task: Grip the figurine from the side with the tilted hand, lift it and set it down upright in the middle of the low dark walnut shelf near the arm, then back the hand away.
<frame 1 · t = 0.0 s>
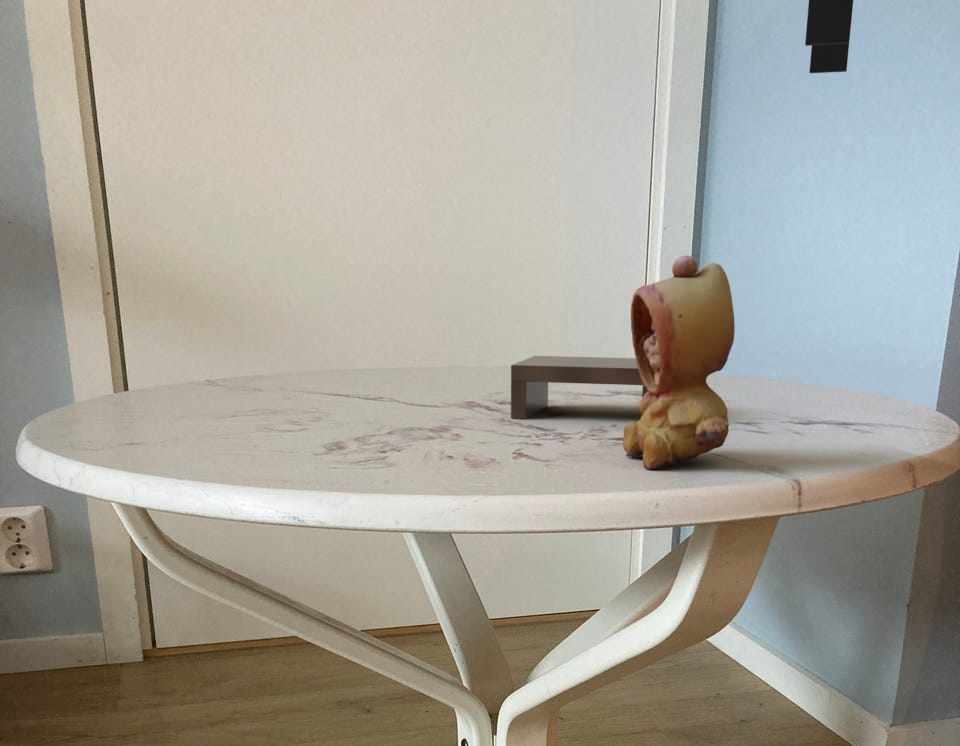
hand: (827, 59, 78), 28 cm above the table, tool pointing down, fingers open, 13 cm apart
shelf: (591, 414, 108), on the table
figurine: (676, 463, 85), on the table
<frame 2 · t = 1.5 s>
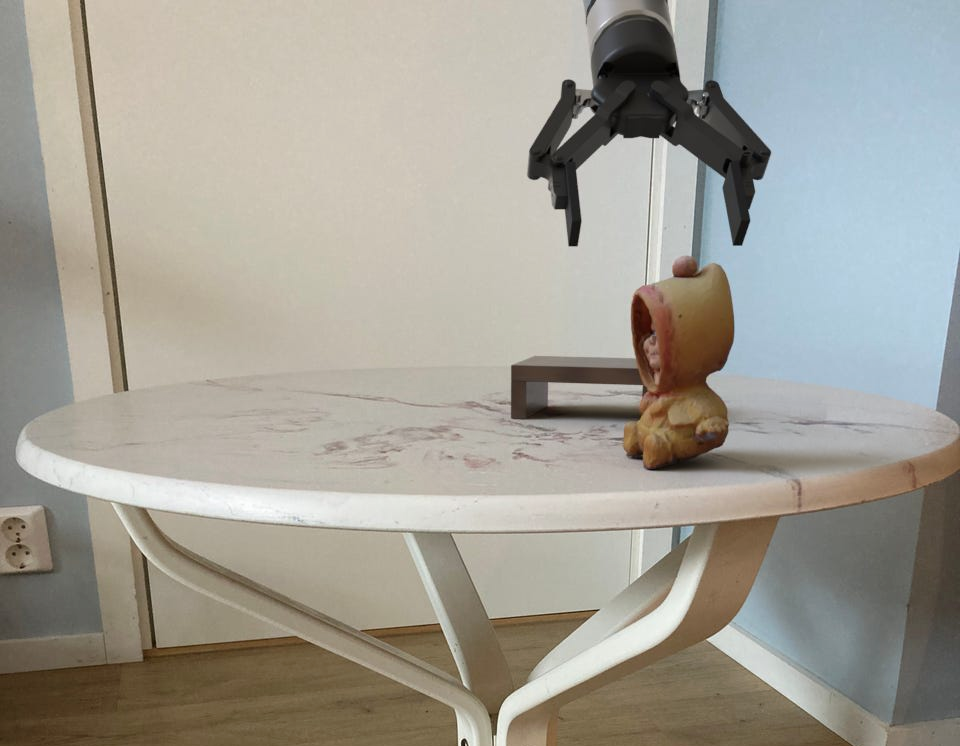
hand: (658, 234, 89), 16 cm above the table, tool tilted 45°, fingers open, 13 cm apart
nothing on the table moved.
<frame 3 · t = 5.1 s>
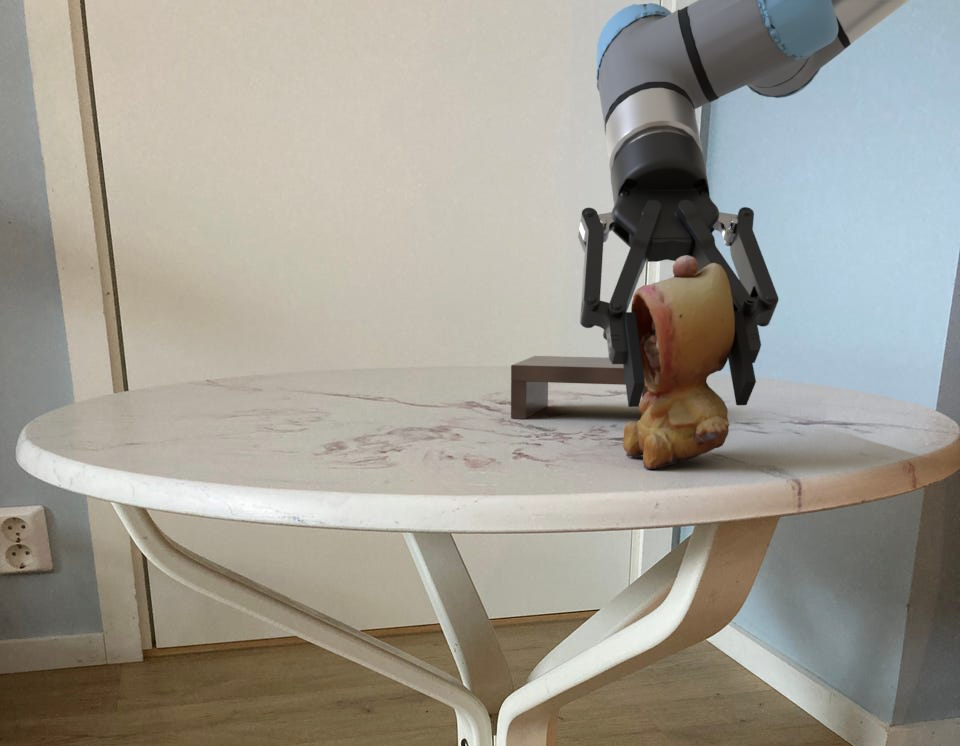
hand: (691, 394, 80), 6 cm above the table, tool tilted 45°, fingers closed on figurine, 7 cm apart
figurine: (676, 463, 85), on the table, touching gripper
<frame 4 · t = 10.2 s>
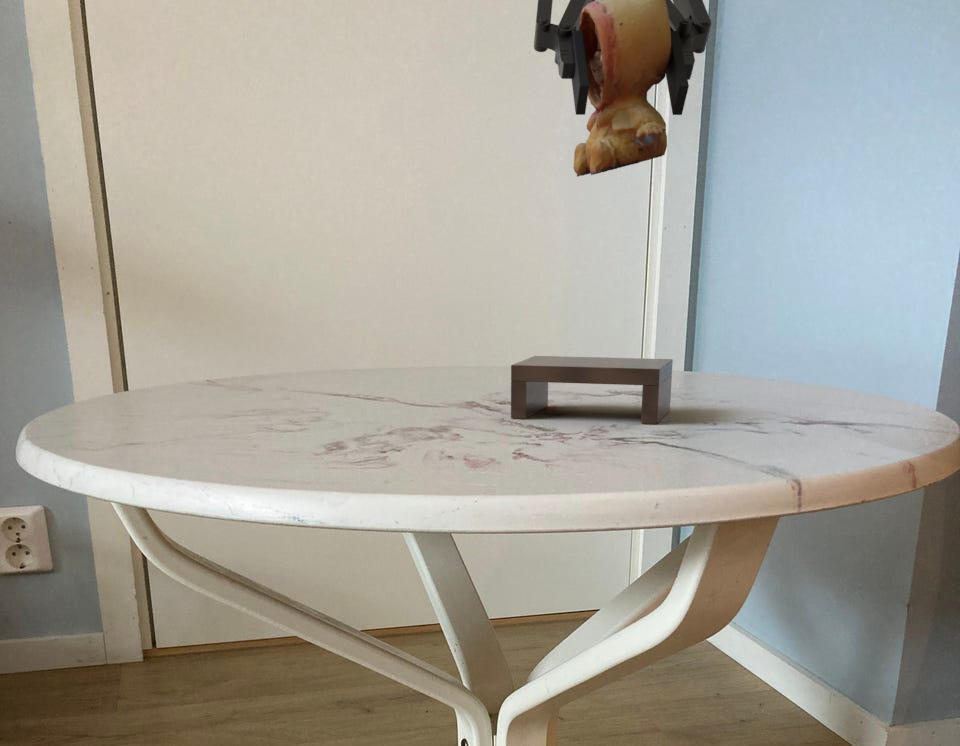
hand: (631, 100, 89), 27 cm above the table, tool tilted 45°, fingers closed on figurine, 7 cm apart
figurine: (620, 179, 94), point 21 cm above the table, touching gripper
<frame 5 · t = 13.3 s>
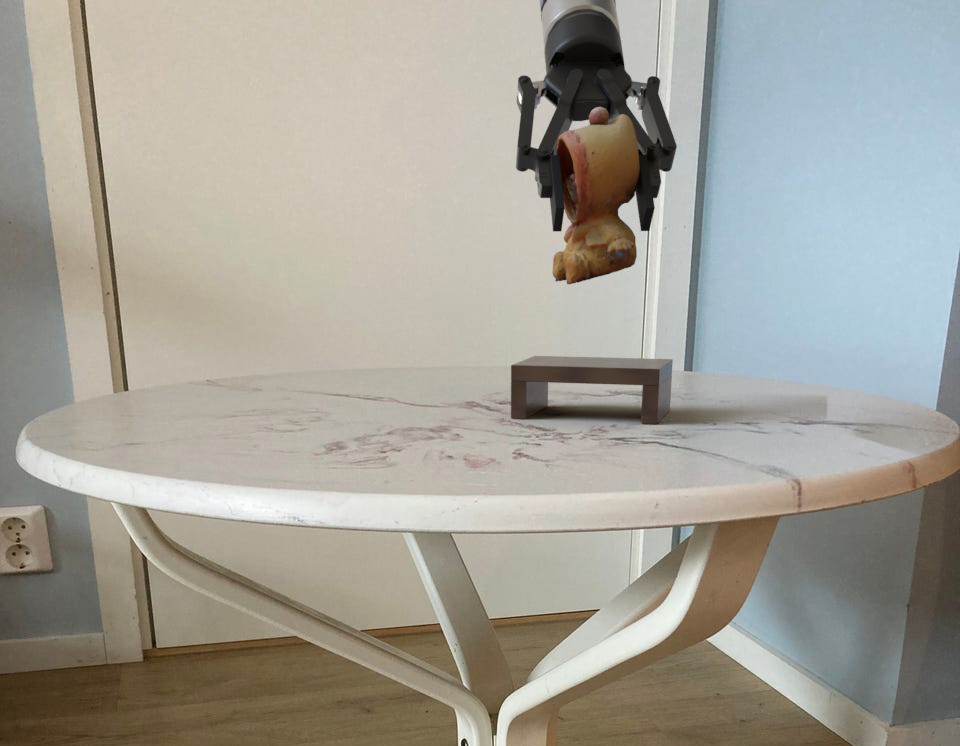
hand: (603, 219, 98), 18 cm above the table, tool tilted 45°, fingers closed on figurine, 7 cm apart
figurine: (594, 285, 104), point 12 cm above the table, touching gripper
when the fingers open (11 cm above the table, at t = 15.7 s): figurine stays where it is, resting on shelf.
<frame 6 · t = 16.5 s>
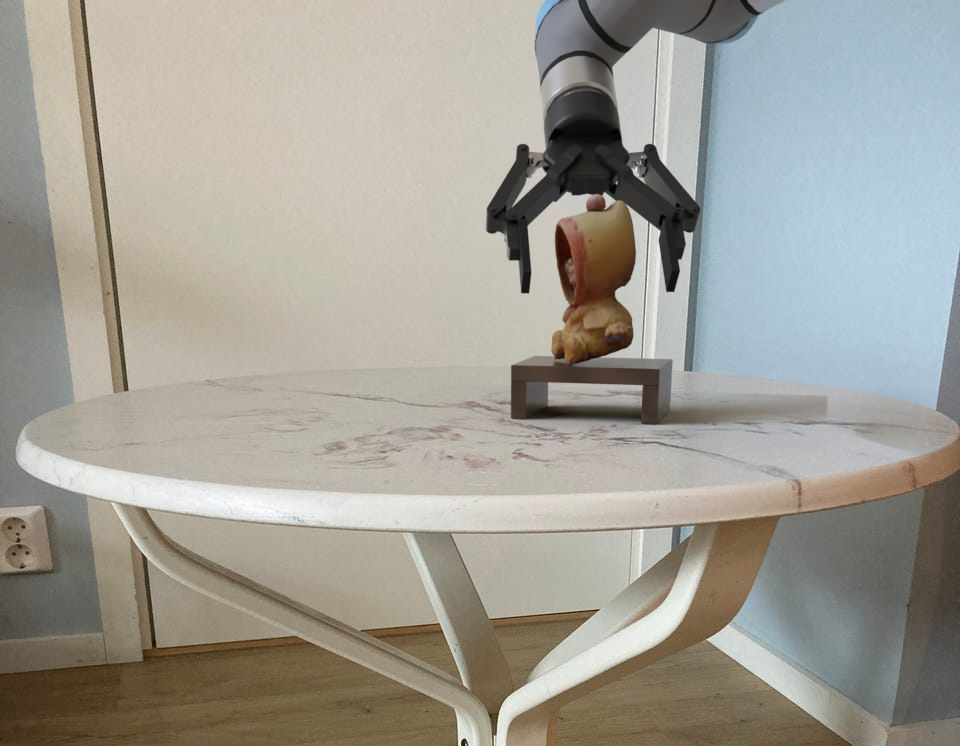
hand: (599, 282, 101), 12 cm above the table, tool tilted 45°, fingers open, 13 cm apart
figurine: (592, 364, 106), point 5 cm above the table, touching shelf
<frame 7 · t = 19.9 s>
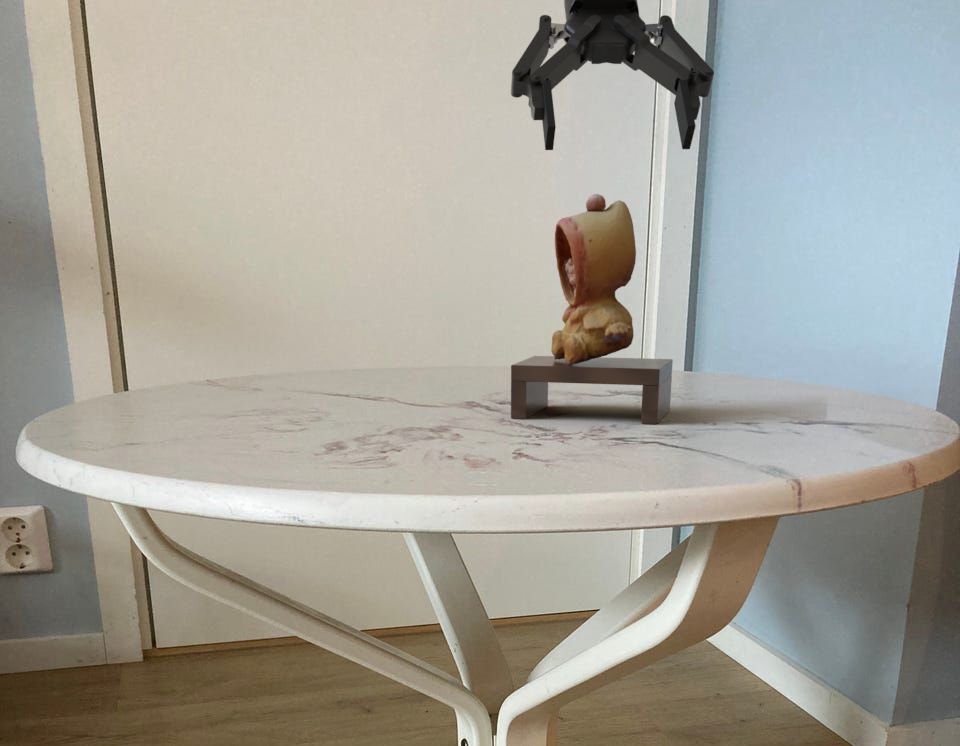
hand: (619, 138, 107), 25 cm above the table, tool tilted 45°, fingers open, 13 cm apart
nothing on the table moved.
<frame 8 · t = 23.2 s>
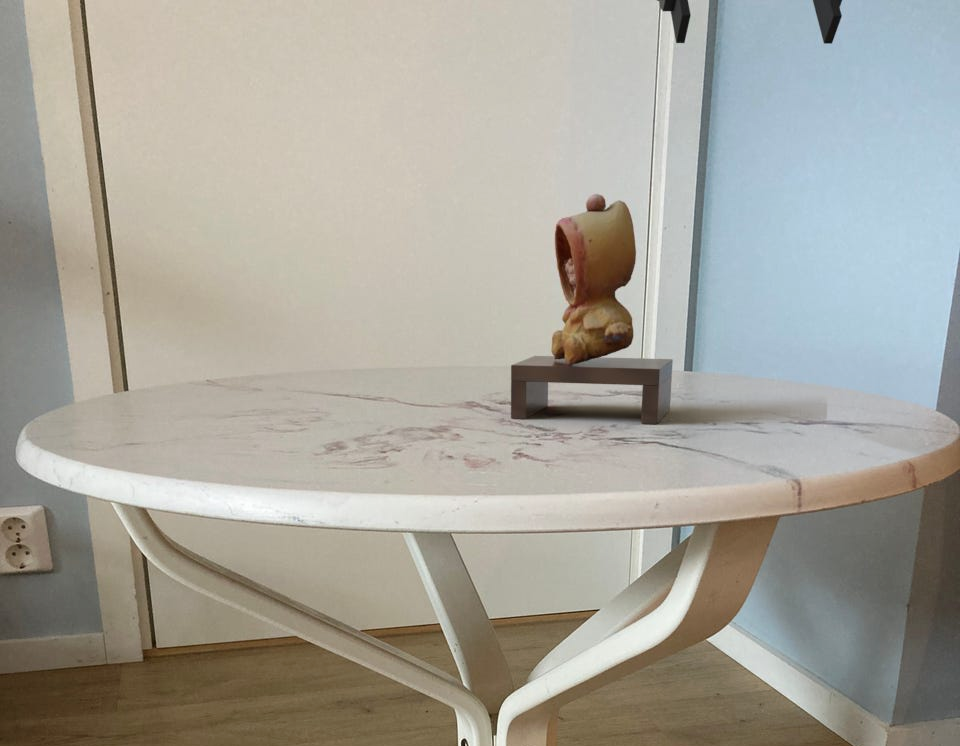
hand: (758, 30, 99), 34 cm above the table, tool tilted 45°, fingers open, 13 cm apart
nothing on the table moved.
at the end: figurine 0.1 cm off-centre on the shelf, point 4.8 cm above the shelf's base; figurine tilted 0°; the gripper is holding nothing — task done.
